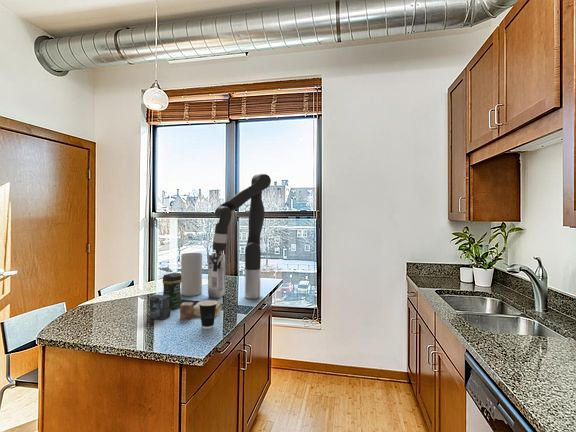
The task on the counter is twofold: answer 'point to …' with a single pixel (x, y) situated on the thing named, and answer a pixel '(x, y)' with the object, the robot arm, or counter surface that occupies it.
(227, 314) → the counter surface
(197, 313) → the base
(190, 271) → the cylinder vase
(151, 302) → the box
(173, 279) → the coffee jar
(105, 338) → the counter surface
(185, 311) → the walnut block
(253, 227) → the robot arm
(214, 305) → the dixie cup
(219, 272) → the juice carton
